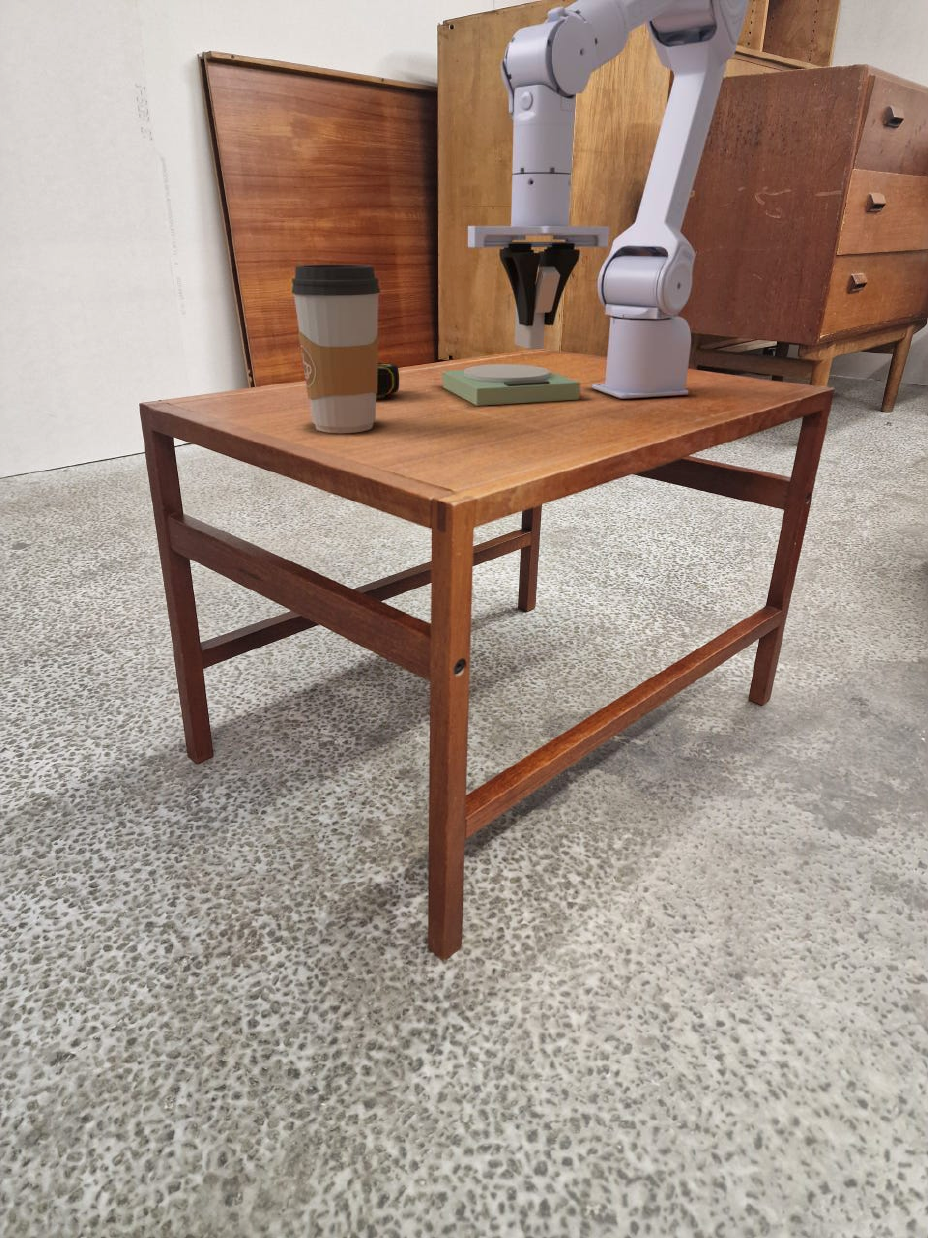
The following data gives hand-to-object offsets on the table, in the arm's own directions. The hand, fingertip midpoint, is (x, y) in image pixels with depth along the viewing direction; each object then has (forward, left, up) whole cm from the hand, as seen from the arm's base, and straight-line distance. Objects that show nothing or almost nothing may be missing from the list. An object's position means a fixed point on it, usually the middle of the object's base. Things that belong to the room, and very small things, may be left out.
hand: (536, 324), depth 83 cm
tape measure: (+15, -16, -10) cm, 24 cm away
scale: (-2, -13, -9) cm, 16 cm away
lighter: (0, 0, -3) cm, 3 cm away
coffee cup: (+21, 0, -10) cm, 23 cm away
